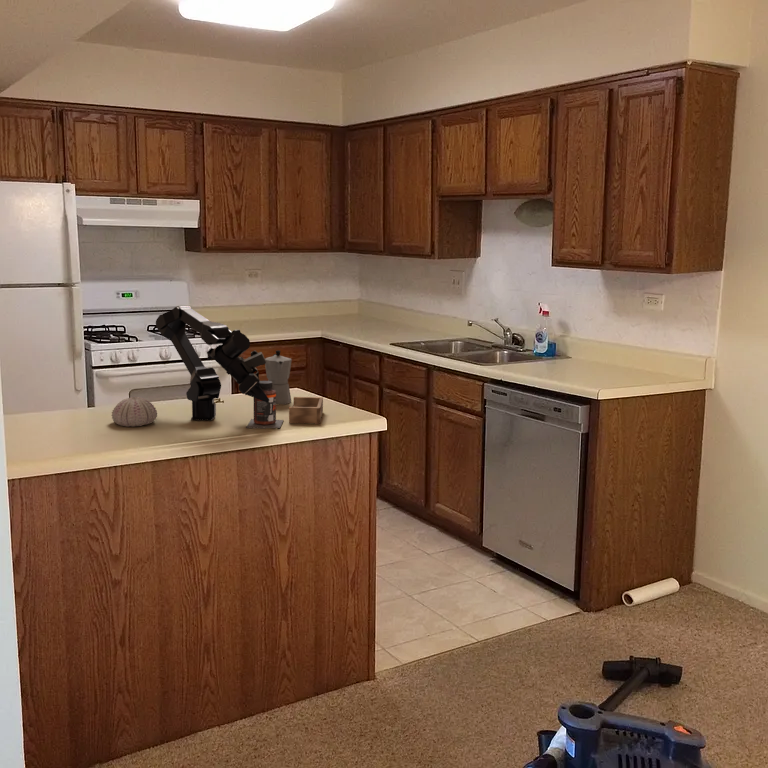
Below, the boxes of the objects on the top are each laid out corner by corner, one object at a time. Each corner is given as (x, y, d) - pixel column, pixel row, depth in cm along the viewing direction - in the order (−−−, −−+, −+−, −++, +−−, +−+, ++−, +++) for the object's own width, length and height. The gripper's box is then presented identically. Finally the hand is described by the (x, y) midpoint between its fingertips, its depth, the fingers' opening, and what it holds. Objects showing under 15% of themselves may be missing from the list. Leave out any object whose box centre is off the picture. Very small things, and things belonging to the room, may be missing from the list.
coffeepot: (294, 405, 282) (295, 353, 278) (266, 406, 279) (266, 353, 276) (287, 396, 296) (287, 346, 293) (261, 397, 294) (261, 346, 291)
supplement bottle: (277, 425, 252) (277, 383, 250) (255, 426, 250) (255, 384, 248) (273, 420, 259) (274, 379, 256) (252, 421, 257) (252, 380, 254)
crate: (289, 423, 257) (289, 407, 256) (293, 411, 273) (293, 396, 272) (319, 423, 257) (320, 408, 256) (322, 412, 273) (323, 397, 272)
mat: (246, 428, 249) (246, 426, 249) (251, 420, 259) (251, 419, 259) (279, 428, 250) (279, 427, 250) (283, 421, 260) (283, 419, 259)
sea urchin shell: (113, 430, 243) (112, 403, 242) (110, 419, 255) (109, 394, 254) (160, 427, 248) (159, 400, 247) (154, 417, 260) (154, 392, 259)
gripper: (250, 347, 240) (288, 385, 244) (249, 339, 258) (285, 374, 262) (222, 374, 240) (261, 412, 244) (224, 364, 258) (260, 398, 262)
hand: (268, 398), depth 253 cm, fingers open, 9 cm apart
